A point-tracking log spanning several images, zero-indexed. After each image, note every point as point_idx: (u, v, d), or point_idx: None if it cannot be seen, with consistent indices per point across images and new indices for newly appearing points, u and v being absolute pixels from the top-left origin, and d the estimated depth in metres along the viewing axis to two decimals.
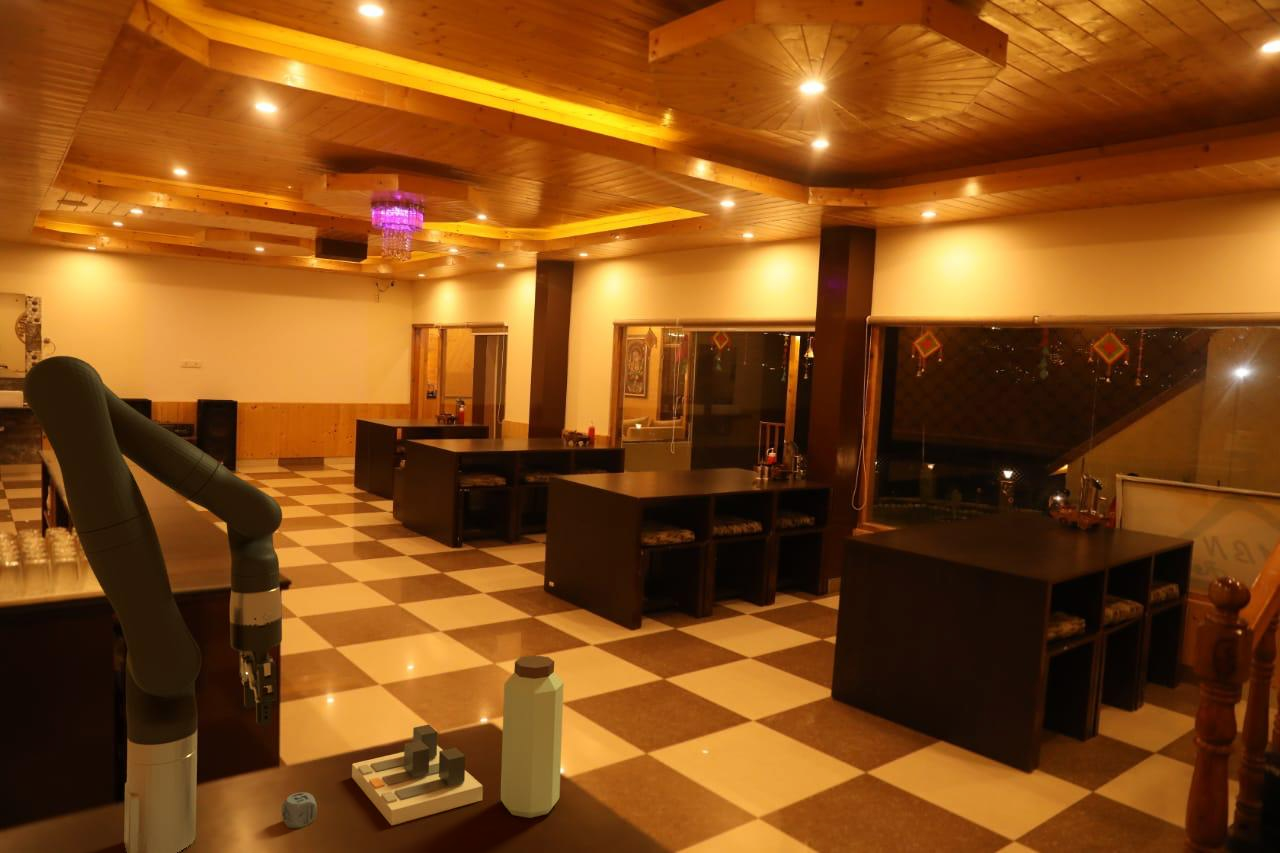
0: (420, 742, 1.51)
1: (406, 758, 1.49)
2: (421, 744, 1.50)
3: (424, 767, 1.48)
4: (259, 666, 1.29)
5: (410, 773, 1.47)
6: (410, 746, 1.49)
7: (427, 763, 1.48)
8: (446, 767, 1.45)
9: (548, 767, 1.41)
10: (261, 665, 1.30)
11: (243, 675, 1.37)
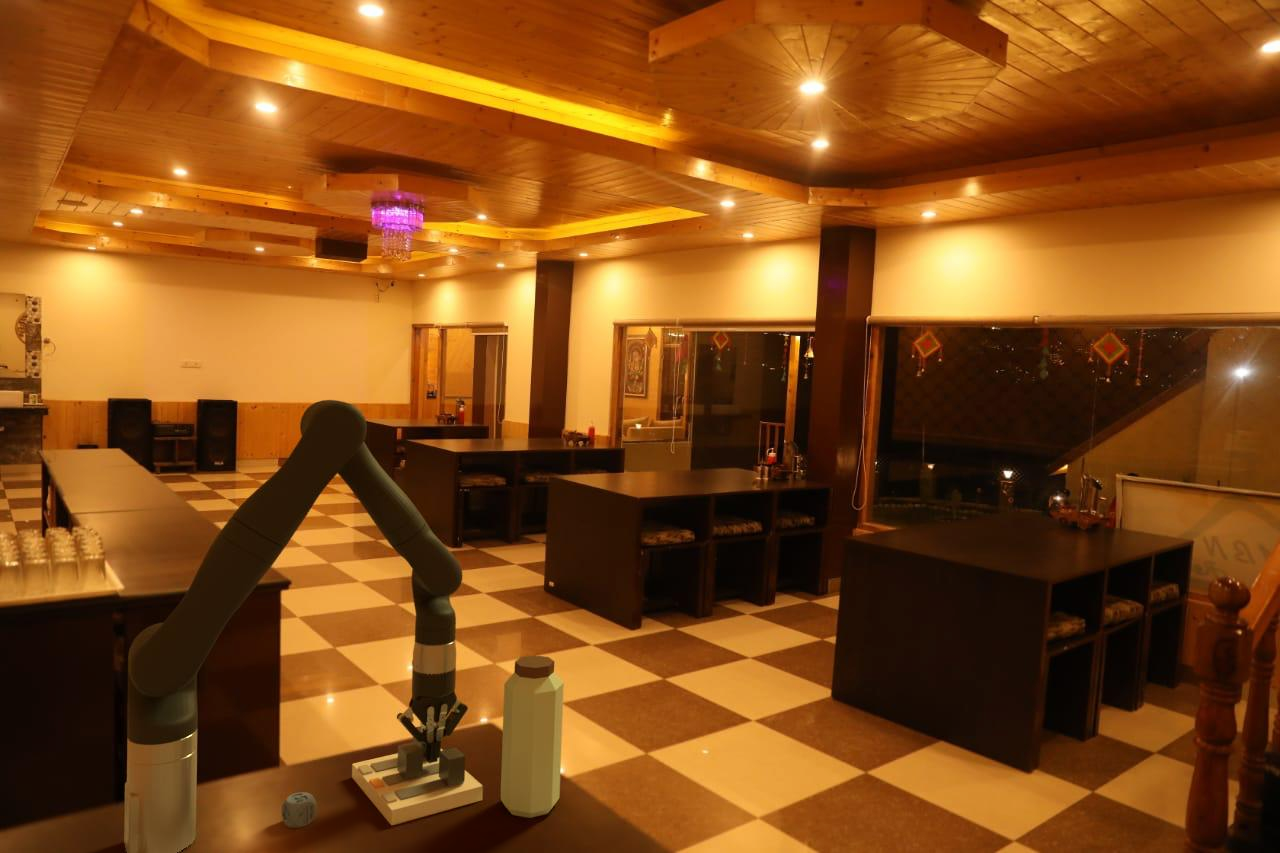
0: (414, 743, 1.50)
1: (399, 760, 1.48)
2: (415, 745, 1.49)
3: (417, 768, 1.47)
4: (467, 708, 1.53)
5: (404, 775, 1.47)
6: (404, 747, 1.48)
7: (421, 765, 1.48)
8: (446, 767, 1.45)
9: (548, 767, 1.41)
10: (466, 707, 1.54)
11: (433, 726, 1.49)
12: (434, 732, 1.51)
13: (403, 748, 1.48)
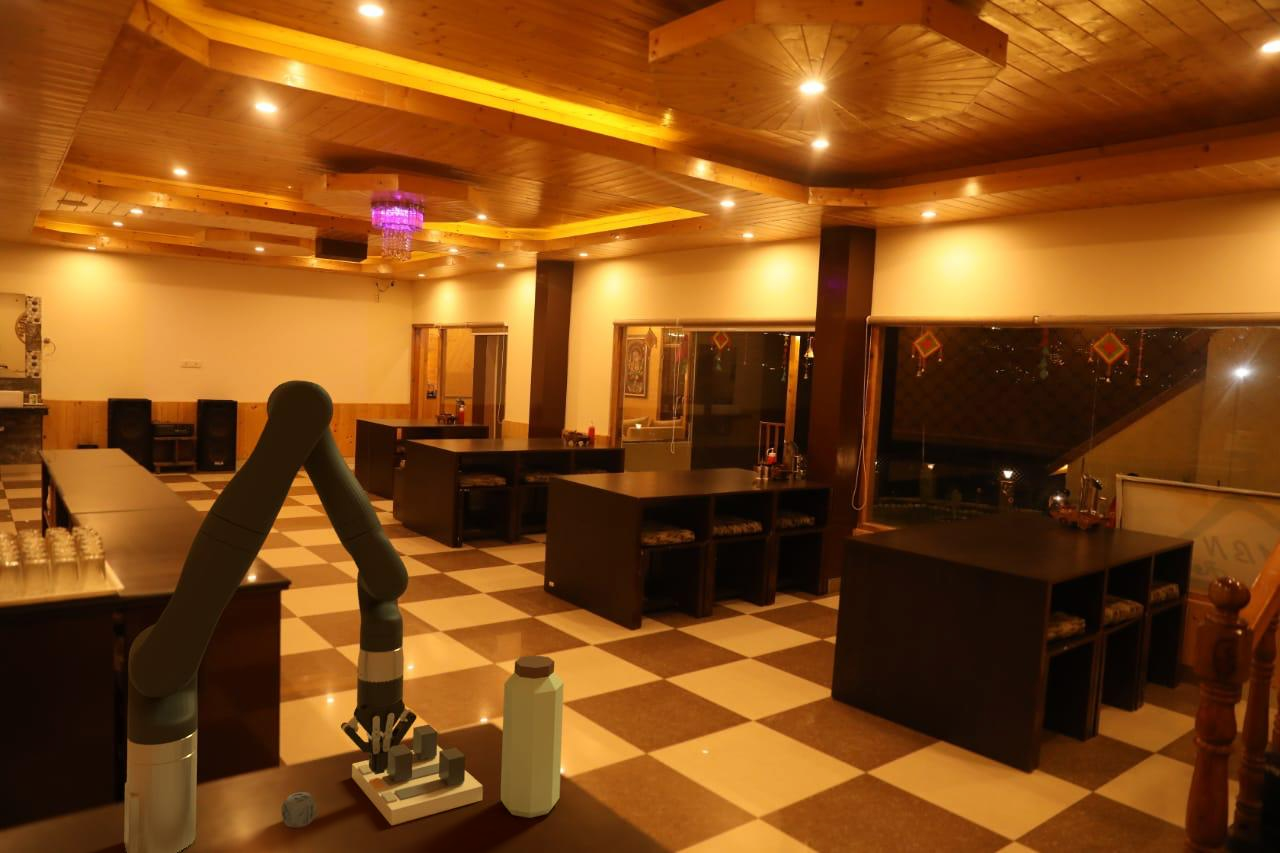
0: (403, 746, 1.49)
1: (388, 762, 1.47)
2: (404, 748, 1.48)
3: (407, 771, 1.46)
4: (416, 716, 1.47)
5: (393, 777, 1.46)
6: (393, 750, 1.47)
7: (410, 767, 1.46)
8: (446, 767, 1.45)
9: (548, 767, 1.41)
10: (415, 715, 1.48)
11: (379, 736, 1.43)
12: (381, 742, 1.45)
13: (392, 750, 1.47)
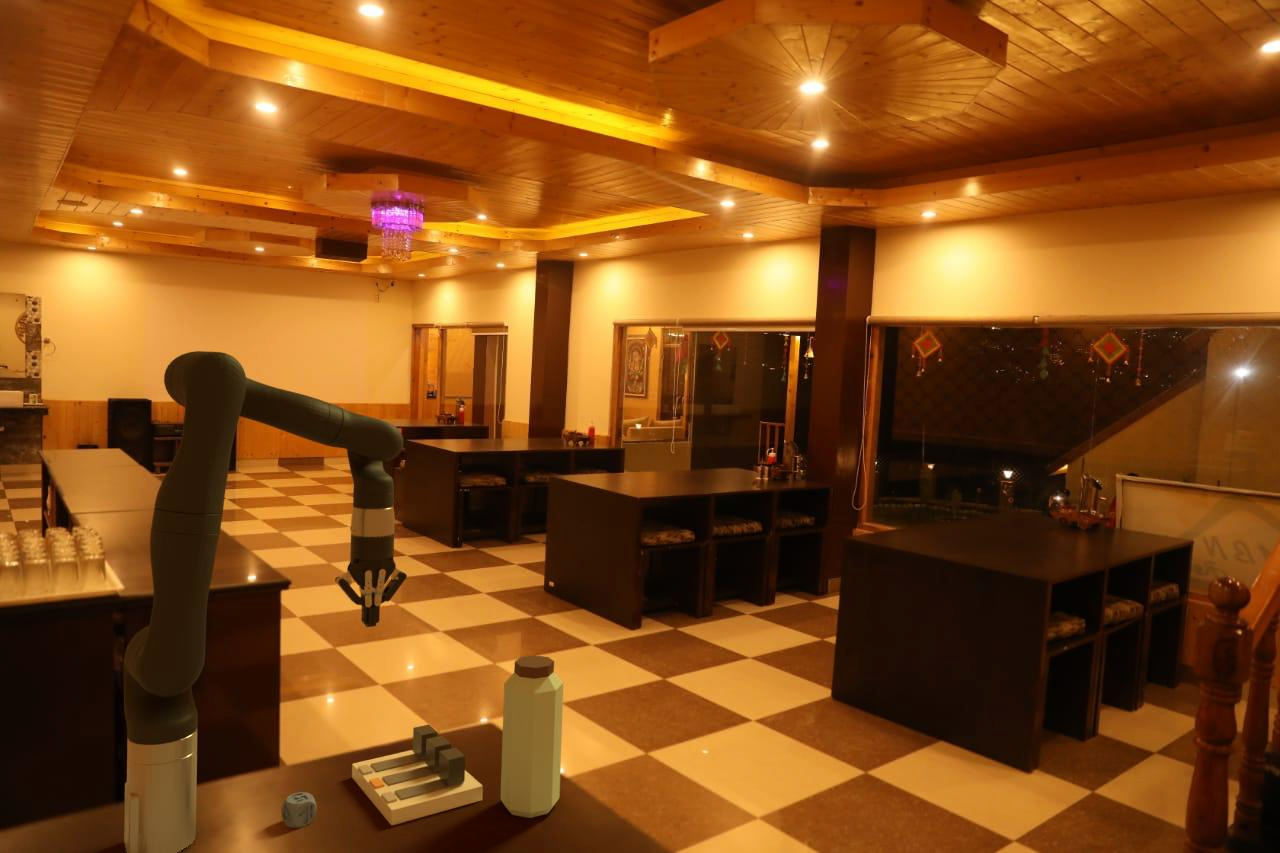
0: (442, 737, 1.53)
1: (427, 753, 1.52)
2: (443, 739, 1.52)
3: None
4: (406, 576, 1.57)
5: (432, 768, 1.50)
6: (432, 741, 1.51)
7: None
8: (446, 767, 1.45)
9: (548, 767, 1.41)
10: (405, 575, 1.57)
11: (371, 590, 1.52)
12: (373, 598, 1.54)
13: (431, 742, 1.51)
